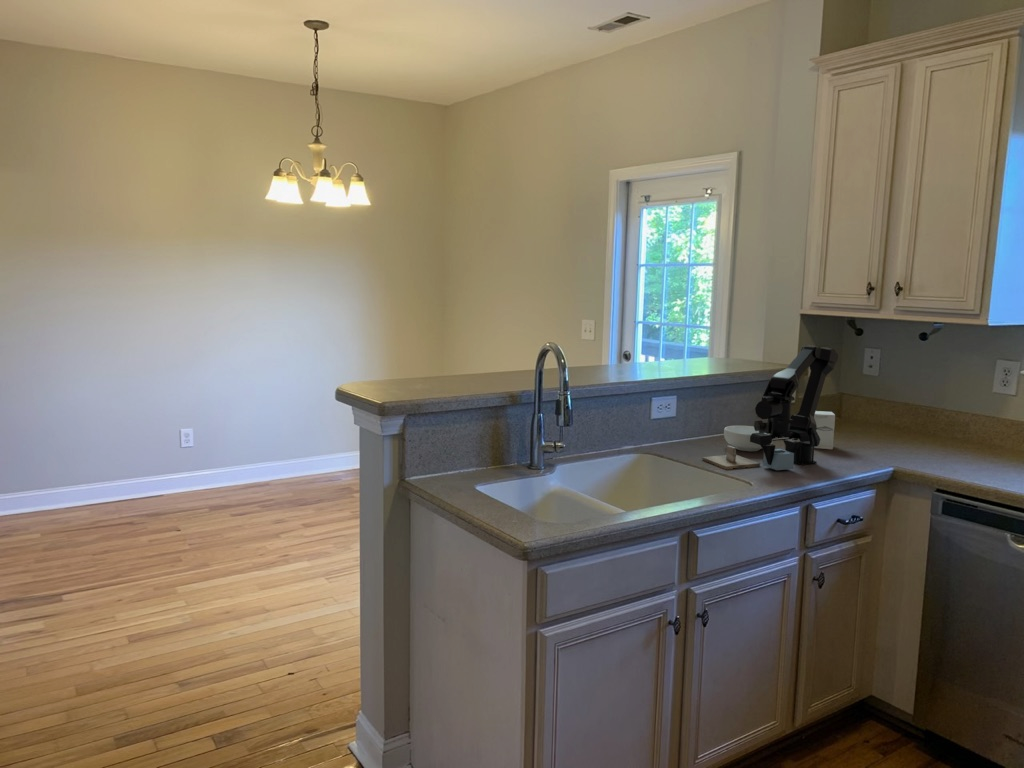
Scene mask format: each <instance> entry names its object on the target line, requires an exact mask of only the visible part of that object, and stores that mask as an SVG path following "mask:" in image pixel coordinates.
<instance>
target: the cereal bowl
mask: <svg viewBox="0 0 1024 768" xmlns="http://www.w3.org/2000/svg"><path fill="white" fill-rule="evenodd" d="M752 433H759V431H755V429H754V425H729V426H728V425H727V426H726V427H724V429H723V437H724V440H725V441H726V443H728V444H729V445H730V446H733V447H735V448H736V450H738V451H743V452H758V451H760V449H761V450H762V449H763V448H762V447H761V446H760V445H758V444H756V443H752V442H750V436H751V434H752ZM764 434H767V433H764ZM768 435H770V434H768Z"/></svg>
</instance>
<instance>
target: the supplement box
mask: <svg viewBox="0 0 1024 768" xmlns="http://www.w3.org/2000/svg"><path fill="white" fill-rule="evenodd" d="M814 419H815V422H816V425H817V427H816V432H817V433H818V435H819V437H820V443H819V445H818V446H814V449H822V450H823V449H824V450H834V439H835V438H834V437H835V425H836V424H835V423H836V414H835V413H834V412H833V411H822V410H816V411H815V415H814Z"/></svg>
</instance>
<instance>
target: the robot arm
mask: <svg viewBox="0 0 1024 768" xmlns="http://www.w3.org/2000/svg"><path fill="white" fill-rule="evenodd" d="M838 358H839V354H838V352H837V351H836V350H835V348H830V347H828V348H827V347H820V346H819V347H818V346H817V345H808V344H807V345H803V346H802V347H801V351H800V352H799V353H798V354H797V356H795V358H794V359H793V360H792V361H791V362H790V364H788V366H787V367H786V368H785V369H783V370H781V371H778V372H776V373H775V374H774V375H772V377H771V378H770V379H769V381H768V384H767V386H766V388H765V389H764V392H763V395H762V397H761V400H760V401H759V402H757V404H756V406H755V408H754V411H755V414H756V416H757V417H758V418H760V419H761V420H754V424H753V426H754V429H755V431H759V433H752V434H751V436H750V442H752V443H756V444H758V445H760V446H761V447H762V448H761V449H762V451H763V454H764V453H765V456H766V460H767V463H768V465H771V463H772V460H773V455H774V451H775V449H776V445H775V444H774V443H773V442H774V441H783V443H784V450H786V451H789V452H792V453H794V463H796V464H797V465H811V464H817V463H818V462H817V461H816V460H814V457H815V448H814V446H818V445H819V443H820V437H819V435H818V433H817V432H816V427H817V425H816V422H815V419H814V415H815V411H817V408H818V404H819V400H820V398H821V394H822V392H823V391H822V390H823V387H824V383H825V381H826V377H827V375H828V374H831V372H832V371H833V370H834V369H835V366H836V364H837V362H838V360H839V359H838ZM807 369H809V370H810V372H809V376H808V379H807V383H806V387H805V390H804V392H803V397H802V400H801V404H800V406H799V409H798V412H797V413H796V414H792V401H795V396H794V393H795V392H796V390H797V389H798V388H799V379H801V376H803V374H804V373H805V372H806V371H807ZM763 420H767V421H766V422H763ZM764 433H767V434H764ZM768 434H770V435H768Z"/></svg>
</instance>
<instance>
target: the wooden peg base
mask: <svg viewBox="0 0 1024 768" xmlns="http://www.w3.org/2000/svg"><path fill="white" fill-rule="evenodd" d="M725 453H726V454H725V455H724V454H721V455H712V456H702V457H701V460H702V461H704V462H706V463H708V462H709V464H711V465H713V464H714V465H713V466H716V467H718V466H719V468H721V469H723V468H724V470H726V469H727V470H734V469H733V468H738V469H746V468H745V467H748V468H756V467H758V468H759V467H761V463H760V462H757V461H755V460H752V459H749V458H746V457H743V456H741V455H738V454H737V449H736V448H735V447H734V446H732V445H726V452H725Z"/></svg>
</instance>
